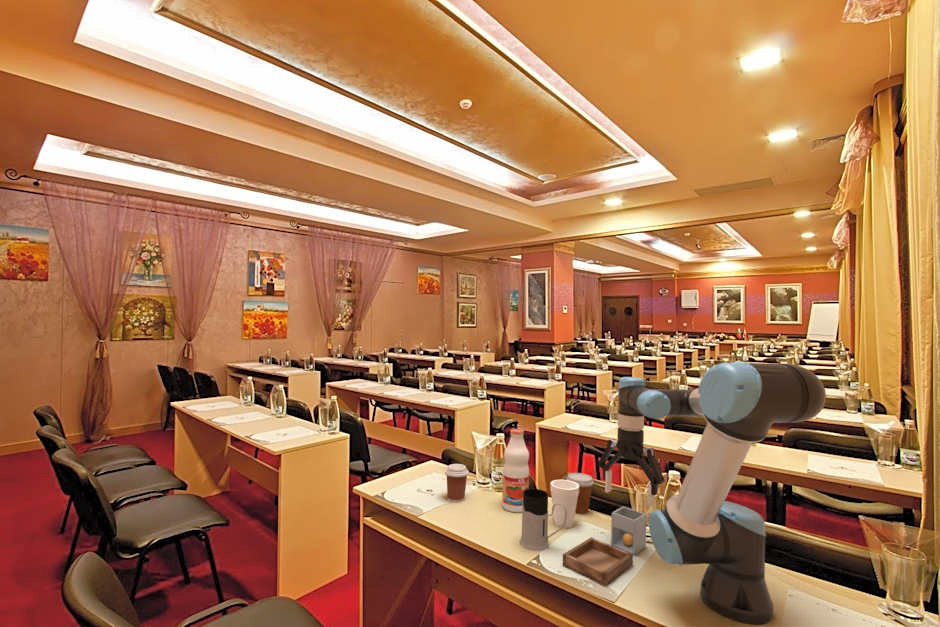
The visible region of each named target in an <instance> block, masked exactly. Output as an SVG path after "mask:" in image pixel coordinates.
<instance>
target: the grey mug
mask: <svg viewBox="0 0 940 627" xmlns="http://www.w3.org/2000/svg"><path fill="white" fill-rule="evenodd" d="M558 504H559V505H561V506H562V507H563V508H564V509H565V520H564V523H563V525H562V526H561V527H559V528H558V529H557V530H555V531H554V532H552V533H550V534H549V532H548V530H549V517H551V516H553V510H554V507H555V505H558ZM548 509H549V493H548V492H547V491H546V490H542V489H540V488H529V489H527V490H525V491H524V492H523V503H522V512H521V513H522V514H521V538H520V539H519V544H520V545H521V547H523V548H525V549H527V550H530V551H543V550H546V549H548V548H549V546H550V544H549V538H550V537H552V536H553V535H556V534H557V533H558V532H560V531H561V530H563V529H564V528H563V526H564V524H565V522H566V518H567V510H566V508H565V506H564V505H563V504H561V503H556V504H554V505H553V506H552V507H551V514H550V513H549V510H548Z"/></svg>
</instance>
